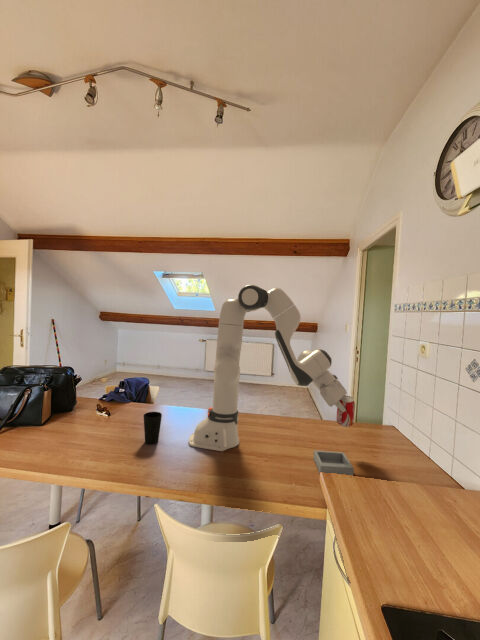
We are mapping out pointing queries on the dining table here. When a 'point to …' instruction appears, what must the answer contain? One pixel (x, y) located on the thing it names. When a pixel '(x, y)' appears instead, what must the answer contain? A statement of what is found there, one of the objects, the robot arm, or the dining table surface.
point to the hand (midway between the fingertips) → (346, 409)
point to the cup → (152, 427)
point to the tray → (333, 462)
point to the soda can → (346, 412)
